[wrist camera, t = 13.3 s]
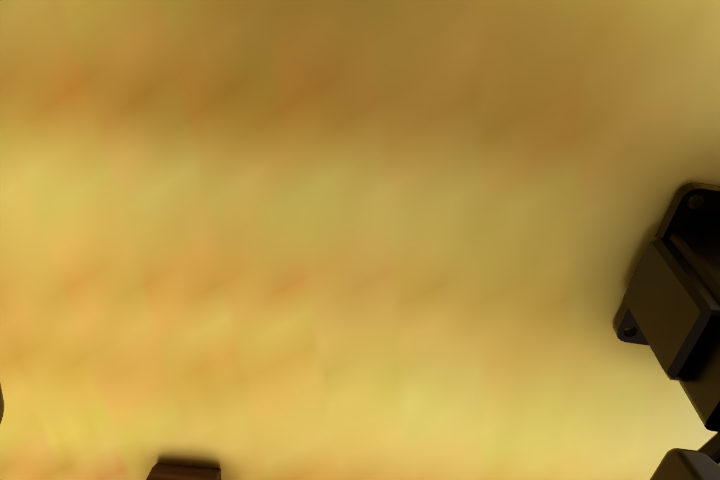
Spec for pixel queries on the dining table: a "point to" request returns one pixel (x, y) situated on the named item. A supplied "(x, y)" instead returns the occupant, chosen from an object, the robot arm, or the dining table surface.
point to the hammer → (183, 473)
